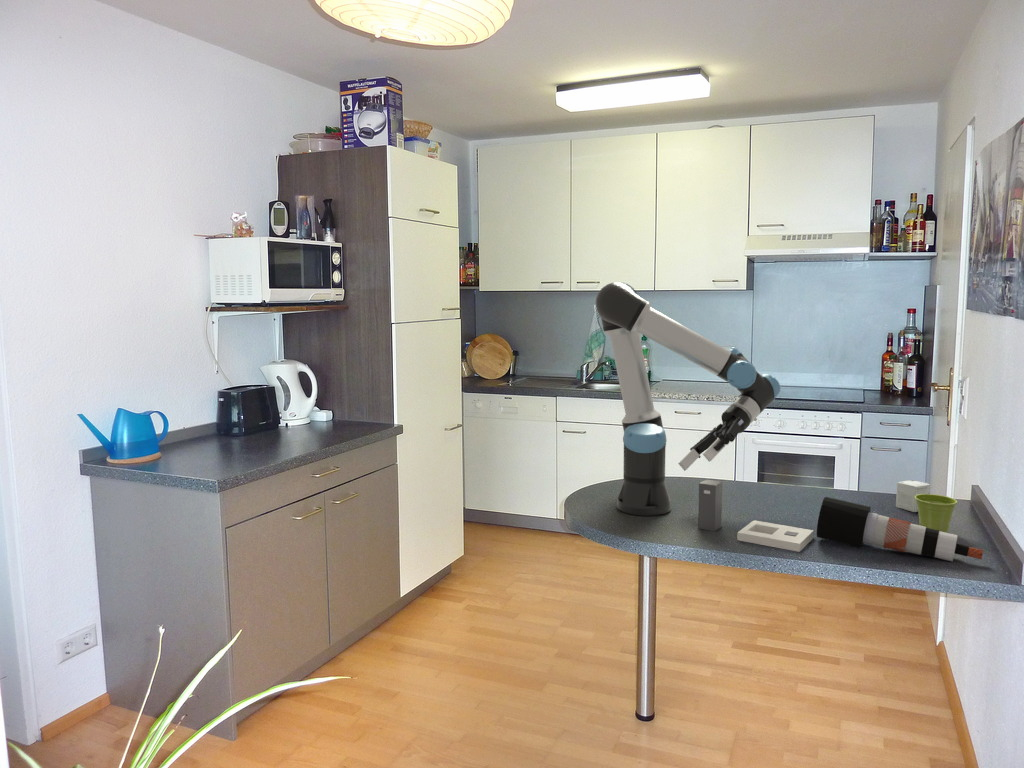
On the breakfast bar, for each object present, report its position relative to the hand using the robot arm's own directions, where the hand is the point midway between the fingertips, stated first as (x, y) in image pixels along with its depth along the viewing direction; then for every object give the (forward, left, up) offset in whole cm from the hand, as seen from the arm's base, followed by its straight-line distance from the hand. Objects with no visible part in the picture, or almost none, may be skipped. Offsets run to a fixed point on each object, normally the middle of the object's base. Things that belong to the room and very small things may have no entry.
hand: (693, 462), depth 207 cm
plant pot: (+56, +21, -15) cm, 61 cm away
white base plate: (+25, -7, -15) cm, 30 cm away
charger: (+8, -7, -15) cm, 18 cm away
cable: (+51, 0, -15) cm, 53 cm away
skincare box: (+48, +41, -15) cm, 65 cm away
